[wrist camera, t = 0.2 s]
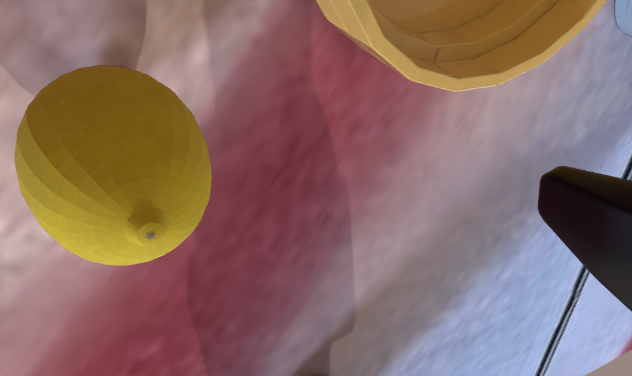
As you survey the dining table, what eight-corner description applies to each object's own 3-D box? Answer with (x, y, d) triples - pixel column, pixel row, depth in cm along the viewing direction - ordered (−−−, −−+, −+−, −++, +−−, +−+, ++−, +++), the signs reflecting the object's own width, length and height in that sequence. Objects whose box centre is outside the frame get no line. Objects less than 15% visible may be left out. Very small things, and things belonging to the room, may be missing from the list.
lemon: (-34, 126, 19) (-17, 277, 14) (72, -3, 19) (135, 98, 13) (104, 197, 23) (162, 338, 18) (195, 91, 23) (286, 201, 17)
